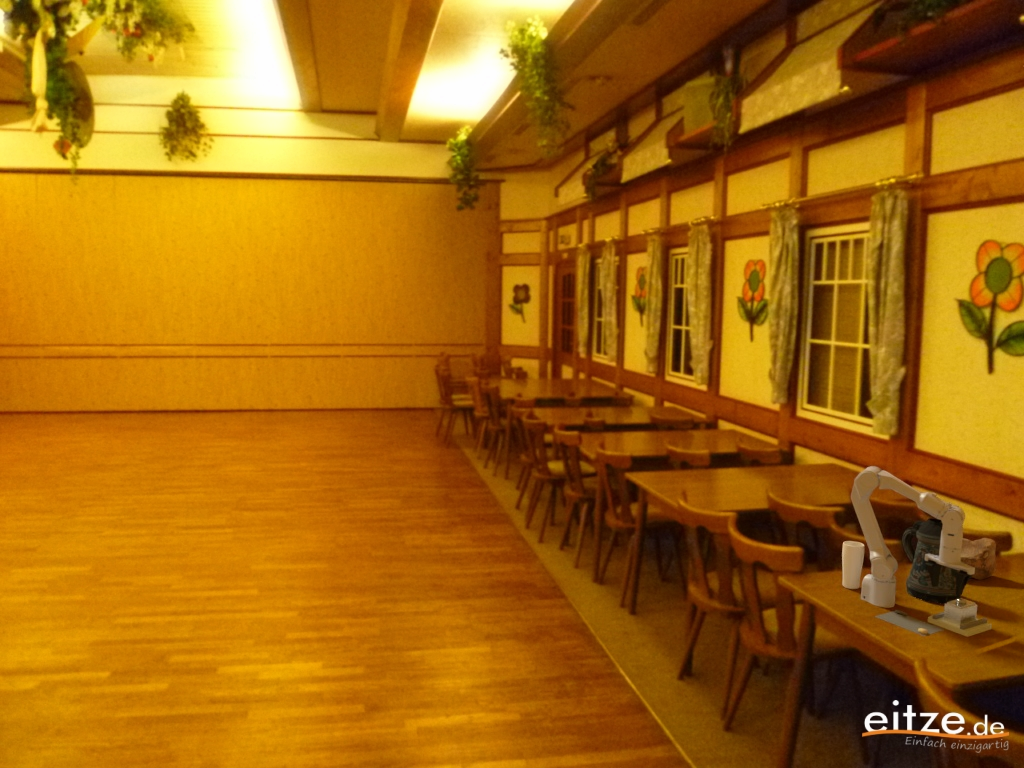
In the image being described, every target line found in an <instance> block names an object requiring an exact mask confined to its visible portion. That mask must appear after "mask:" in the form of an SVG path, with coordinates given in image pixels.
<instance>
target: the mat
mask: <svg viewBox="0 0 1024 768" xmlns="http://www.w3.org/2000/svg"><path fill="white" fill-rule="evenodd" d="M874 618H877V619H880V620H881V621H885V622H887V623H890V624H893V625H894V626H897V627H899V628H902V629H905V630H907V631H910V632H912V633H913V634H914V633H915V634H916V635H920V636H922V637H927V636H930V635H933V634H936V633H939V632H942V631H945V628H942V627H940V626H937V625H935V624H932V623H929V622H926V621H923V620H921V619H918V618H916V617H913V616H910V615H908V613H907V612H905V611H902V610H900V609H895V610H893V611H889V612H886V613H882V614H878V615H875V616H874Z"/></svg>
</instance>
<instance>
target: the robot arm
mask: <svg viewBox="0 0 1024 768" xmlns="http://www.w3.org/2000/svg"><path fill="white" fill-rule="evenodd" d="M877 487H878V490H893V491H894V492H895V493H897V494H900V495H902V496H904V497H905V498H907V499H909V500H911V501H912V502H915V503H916V506H917V508H918V509H919V510H921V511H923V512H924V513H927V514H928V515H930V516H931V517H933V518H934V519H939V520H941V521H942V523H943V527H942V531H941V541H940V552H939V556H937V555H933V554H925V560H926V561H928V563H925V566H926V568H927V570H928V572H929V575H930V578H931V583H932V587H936V586H938V584H939V575H940V571H941V567H942V565H943V566H947V567H950V568H953V569H956V570H959V571H960V572H956V573H955V576H956V595H961V596H962V595H963V592H964V590H965V587H966V586H967V584H968V582H969V581H970V580H971V579H972V576H973V574H974V573H975V568H974V567H971V566H969V565H967V564H965V563H962V562H960V560H961V549H962V539H963V538H964V533H963V531H964V521H965V520H966V514H965V511H964V510H963V508H961V507H960V506H959V505H957V504H953V503H951V502H950V501H949V502H947V501H946V500H944V499H941V497H940V498H939V497H938V496H937V493H935V492H930V491H927V492H921V491H919V490H918V489H916V488H914V487H913V486H912V485H909V484H908V483H906V482H904V481H903V480H902V479H900V478H898V477H896V476H895V475H893V474H892V473H890V472H889V471H886V470H885V469H883V470H882V468H880V467H878V466H875V465H871V466H868V467H866V468H865V469H864V470H862V471H860V472H859V473H858V474H857V476H856V477H855V478H854V480H853V485H852V490H851V493H850V500H851V502H852V506H853V510H854V511H855V514H856V517H857V519H858V522H859V524H860V528H861V531H862V534H863V535H864V536H863V537H864V539H865V541H866V544H867V547H868V550H869V560H870V564H871V565H870V566H871V567H870V572H871V574H870V573H868V574H866V575H865V576H864V577H863V579H862V581H861V591H860V592H861V593H860V600H862V601H865V602H868V603H870V604H871V605H873V606H876V607H878V608H879V607H880V608H890V609H891V608H894V607H895V604H896V590H897V577H896V575H895V573H896V572H897V571H898V568H899V563H898V561H897V559H896V558H895V557H894V556H893V555H892V553H891V550H890V549H889V548H888V546H887V545H886V543H885V540H884V537H883V534H882V532H881V528H880V526H879V523H878V519H877V518H876V515H875V513H874V509H873V507H872V504H871V501H870V497H871V495H872V494H873V493H874V490H875V489H876V488H877Z"/></svg>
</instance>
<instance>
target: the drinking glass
mask: <svg viewBox="0 0 1024 768" xmlns="http://www.w3.org/2000/svg"><path fill="white" fill-rule="evenodd" d="M841 551H842V552H841V557H842V558H841V560H842V561H841V564H842V567H841V569H842V575H841V576H842V579H841V580H842V582H841V585H842V586H843V587H844V588H845V589H850V590H857V589H859V588H860V582H861V576H862V571H863V563H864V557H865V544H864V543H862V542H859V541H854V540H846V541H843V543H842V550H841Z"/></svg>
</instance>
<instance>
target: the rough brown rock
mask: <svg viewBox="0 0 1024 768" xmlns="http://www.w3.org/2000/svg"><path fill="white" fill-rule="evenodd" d="M996 548H997V542H996V540H994V539H992V538H989V537H981V538H979V539H975V540H971V539H968V538H964V537H963V539H962V549H961V560H960V562H962V563H965V564H967V565H969V566H971V567H974V568H975V573H974V574H973V576H972V577H971V579H975V580H981V581H982V580H985V579H986V578H989V577H991V576H992V575H993V574H994V573H995V572H996V568H997V567H996V565H997V564H996V559H997V557H996ZM957 571H958V572H960V571H959V570H957Z"/></svg>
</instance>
